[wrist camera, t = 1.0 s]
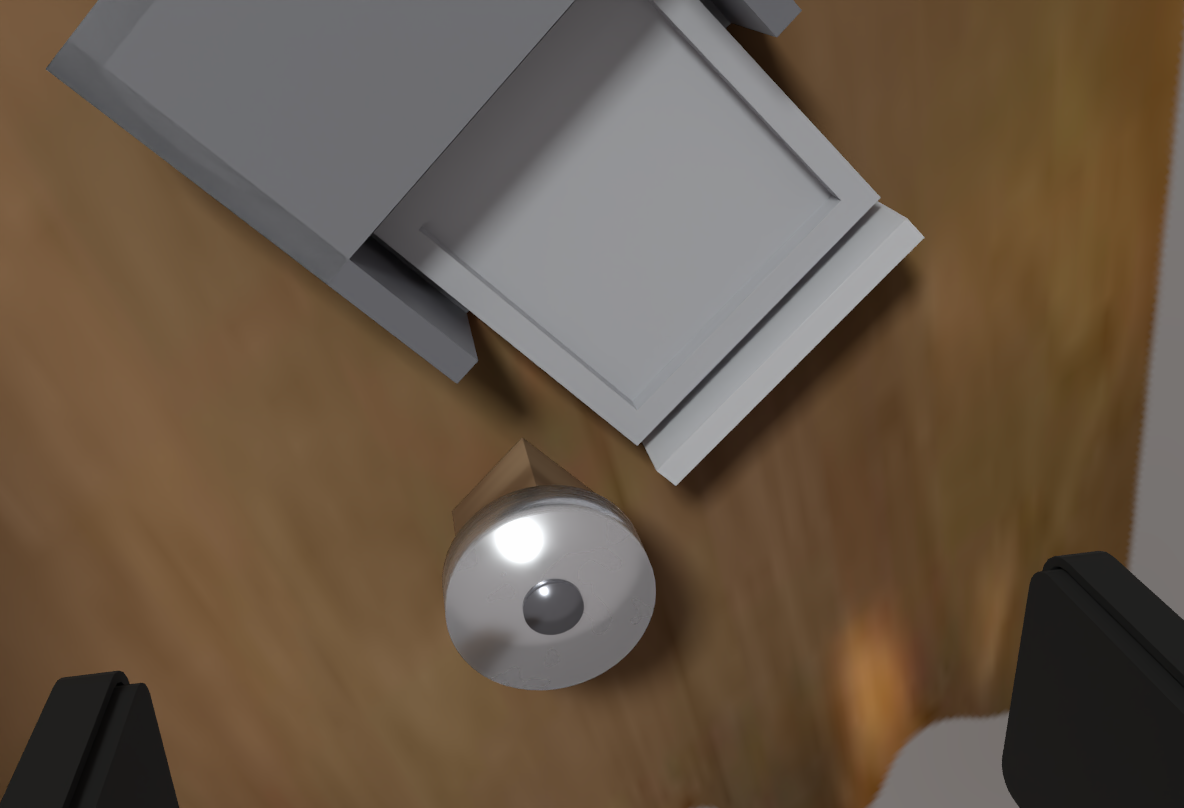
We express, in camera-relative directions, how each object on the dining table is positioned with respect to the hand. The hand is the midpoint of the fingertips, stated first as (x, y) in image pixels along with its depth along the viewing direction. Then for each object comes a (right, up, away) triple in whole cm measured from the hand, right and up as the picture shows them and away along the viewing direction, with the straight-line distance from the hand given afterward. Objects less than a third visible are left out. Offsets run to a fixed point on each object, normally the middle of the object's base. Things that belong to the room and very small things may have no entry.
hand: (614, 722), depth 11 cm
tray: (+2, +10, +26) cm, 28 cm away
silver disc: (-2, -2, +26) cm, 26 cm away
